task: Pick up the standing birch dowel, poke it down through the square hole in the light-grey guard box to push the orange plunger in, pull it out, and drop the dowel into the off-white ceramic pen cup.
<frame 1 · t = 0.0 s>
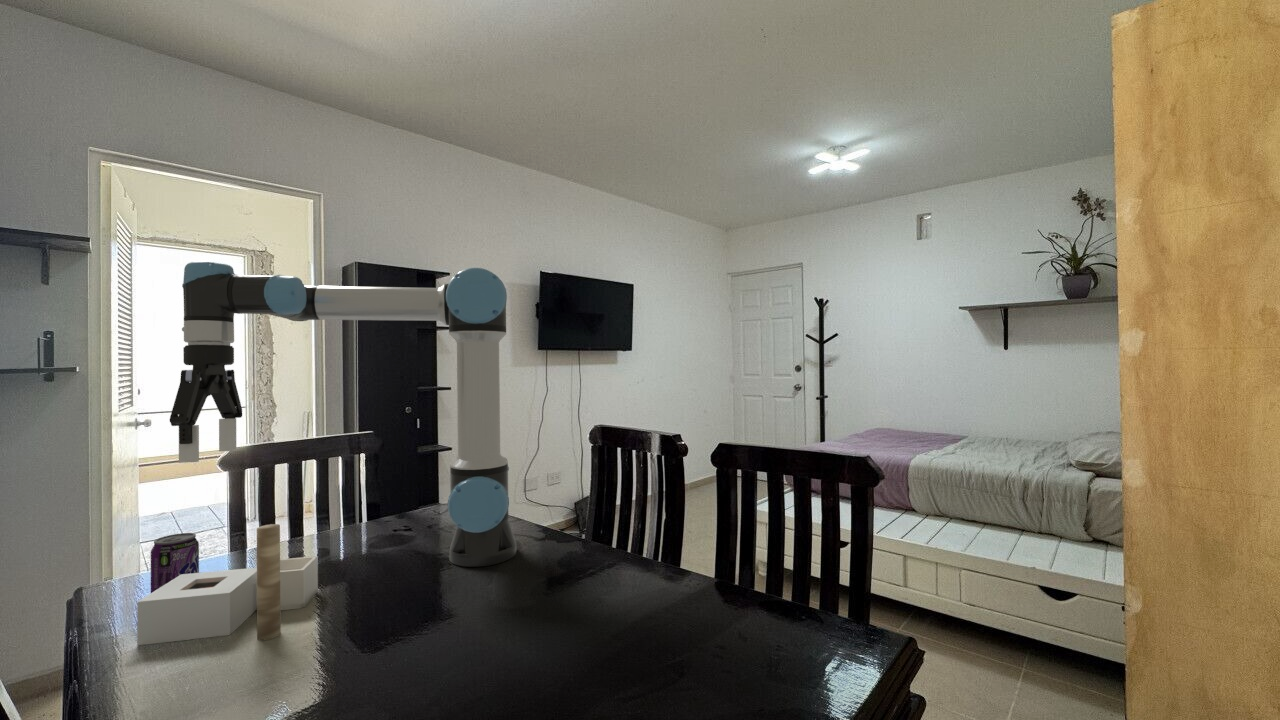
hand: (209, 456, 102), 28 cm above the table, fingers open, 13 cm apart
stylus: (269, 635, 90), on the table
guard box: (204, 623, 94), on the table
beverage can: (175, 600, 104), on the table
plunger: (204, 598, 94), point 4 cm above the table, slide at 0.0 cm
pen cup: (288, 601, 103), on the table
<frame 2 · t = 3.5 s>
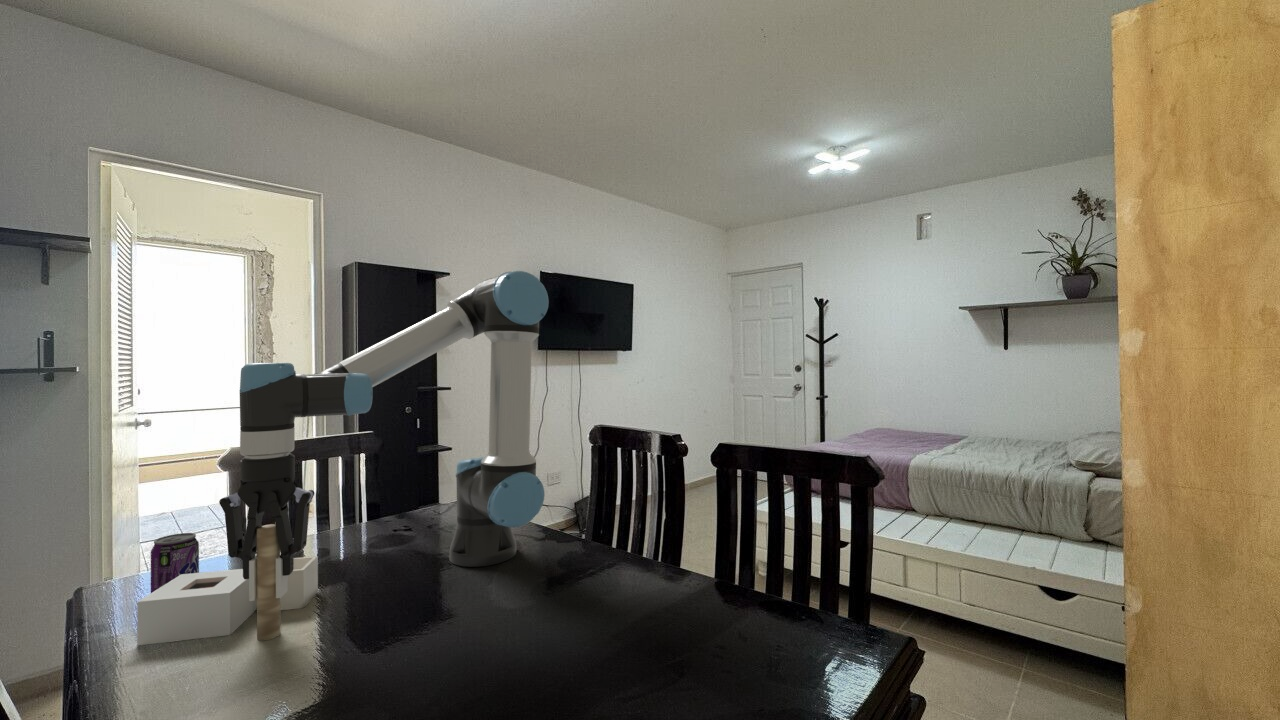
hand: (268, 595, 90), 7 cm above the table, fingers closed on stylus, 3 cm apart
stylus: (268, 635, 90), on the table, touching gripper
everything else where it was.
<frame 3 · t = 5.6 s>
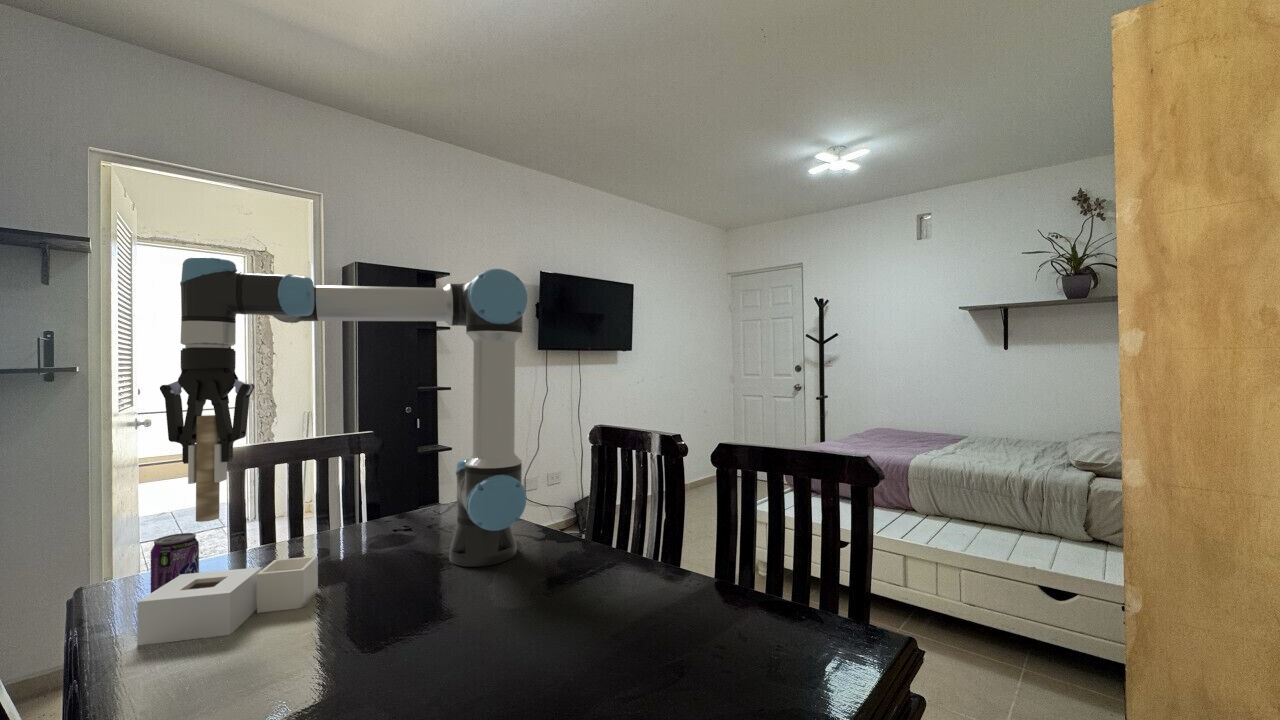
hand: (207, 481, 94), 25 cm above the table, fingers closed on stylus, 3 cm apart
stylus: (207, 519, 94), point 18 cm above the table, touching gripper
everything else where it was.
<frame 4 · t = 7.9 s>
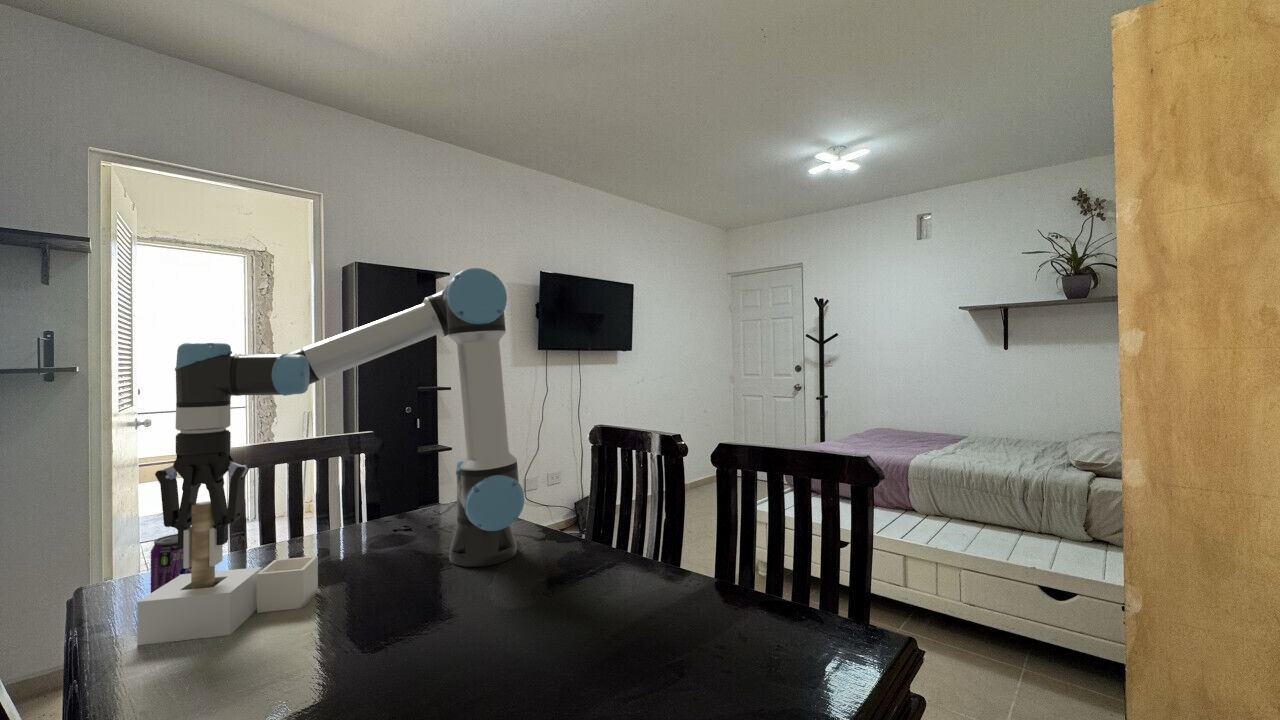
hand: (203, 564, 94), 10 cm above the table, fingers closed on stylus, 3 cm apart
stylus: (203, 606, 94), point 3 cm above the table, touching gripper, plunger
plunger: (204, 614, 94), point 2 cm above the table, slide at 2.8 cm, touching stylus
everything else where it was.
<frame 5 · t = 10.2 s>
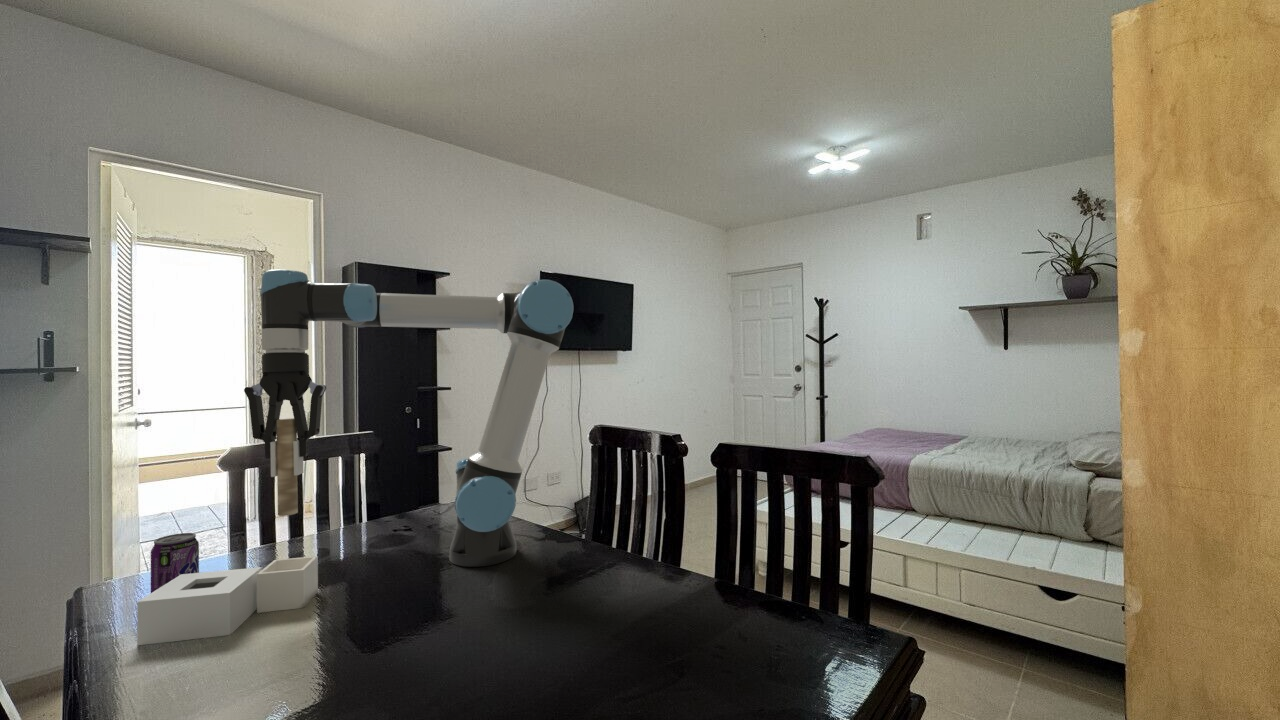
hand: (287, 474, 103), 24 cm above the table, fingers closed on stylus, 3 cm apart
stylus: (287, 513, 103), point 17 cm above the table, touching gripper
plunger: (204, 613, 94), point 2 cm above the table, slide at 2.6 cm
everything else where it was.
when the fingers open (9 cm above the table, at t = 12.2 s): stylus stays where it is, resting on pen cup.
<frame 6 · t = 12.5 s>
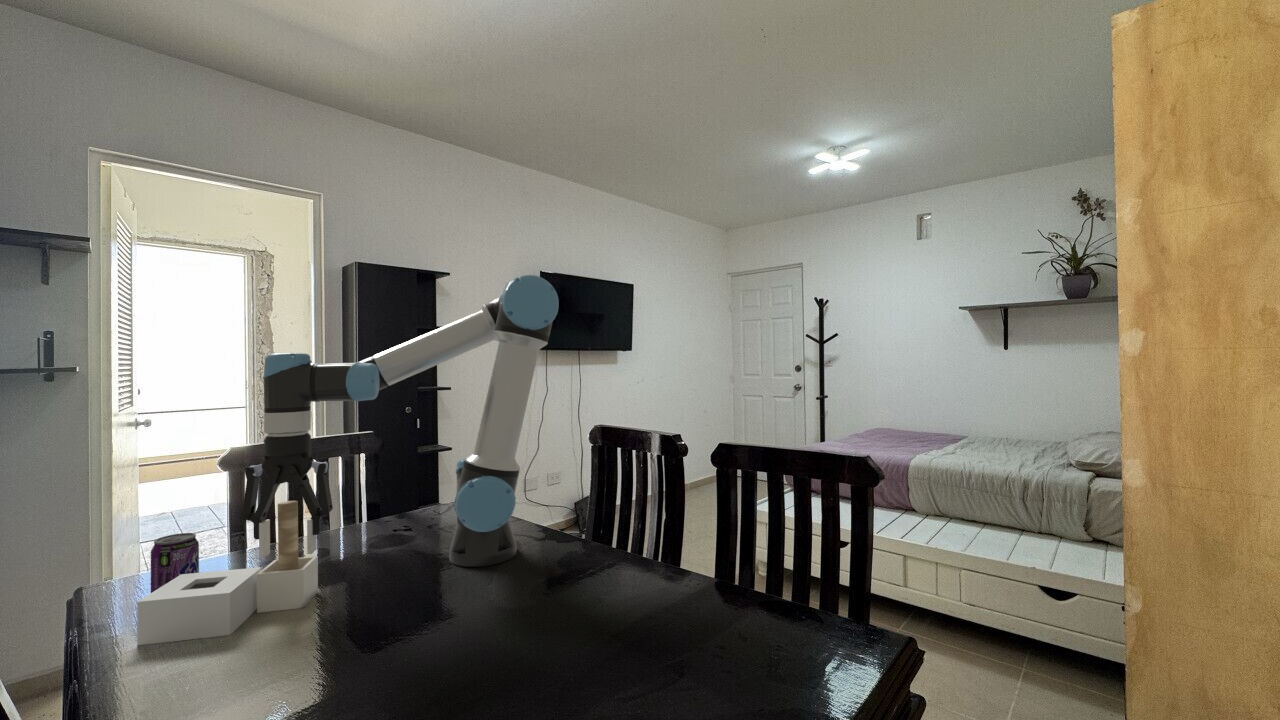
hand: (288, 553, 103), 9 cm above the table, fingers open, 7 cm apart
stylus: (288, 597, 103), point 1 cm above the table, touching pen cup
everything else where it was.
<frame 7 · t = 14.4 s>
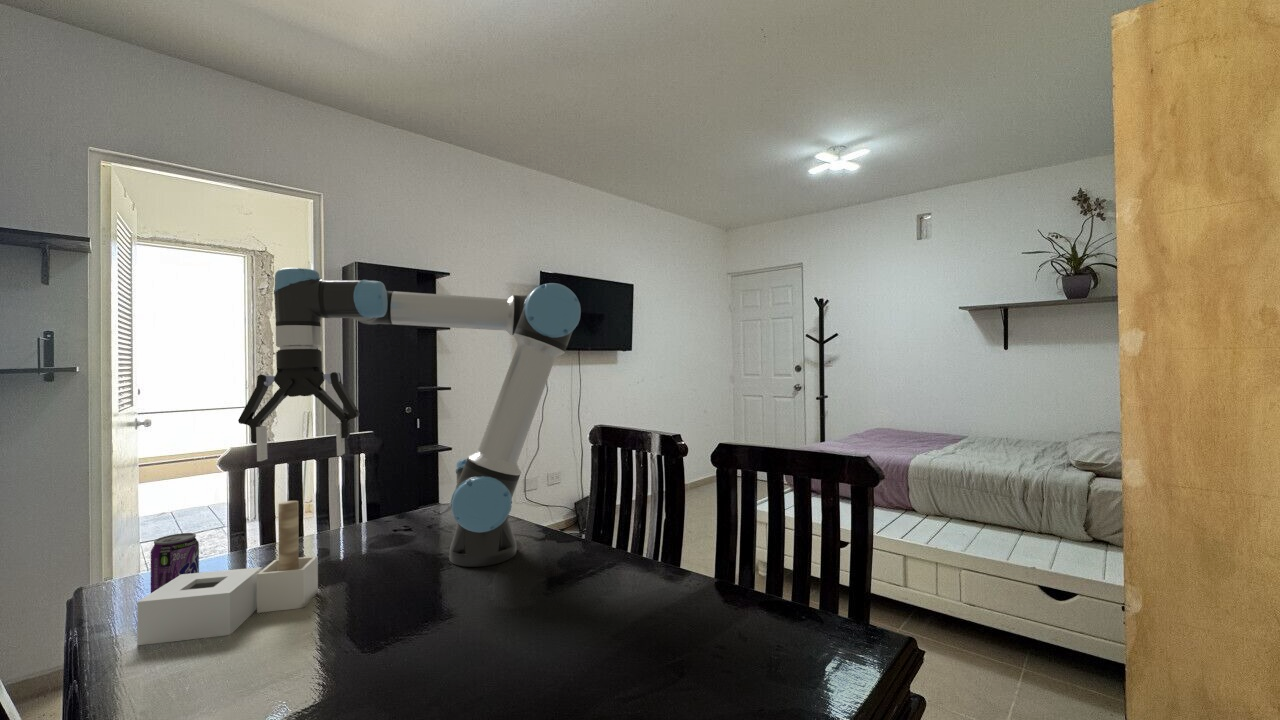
hand: (302, 457, 105), 27 cm above the table, fingers open, 13 cm apart
nothing on the table moved.
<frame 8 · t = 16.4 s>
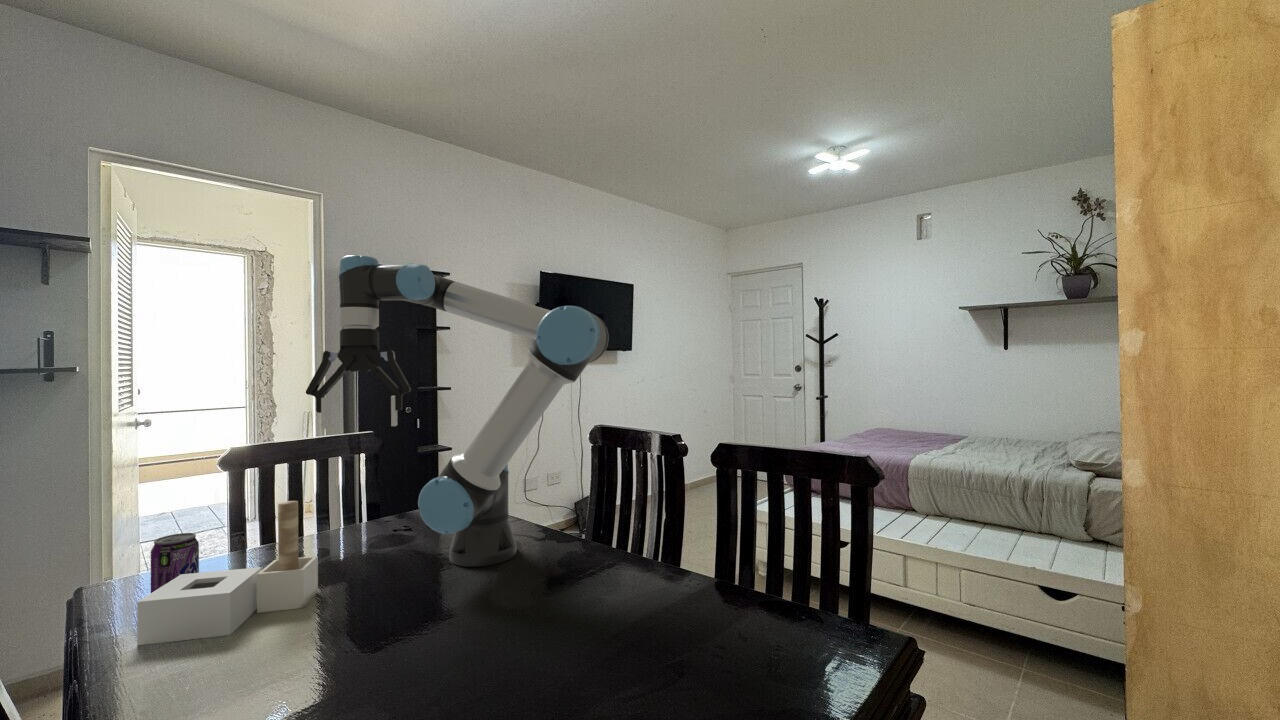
hand: (360, 427, 116), 32 cm above the table, fingers open, 13 cm apart
nothing on the table moved.
at the end: plunger slide at 2.6 cm; stylus 0.0 cm off-centre on the pen cup, point 0.8 cm above the pen cup's base; the gripper is holding nothing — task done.
